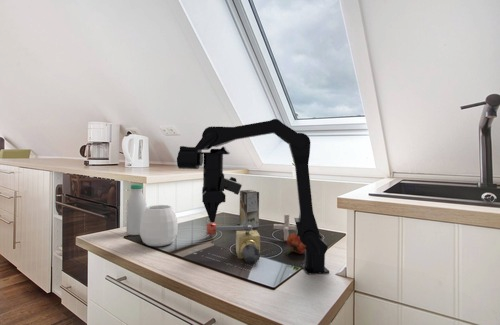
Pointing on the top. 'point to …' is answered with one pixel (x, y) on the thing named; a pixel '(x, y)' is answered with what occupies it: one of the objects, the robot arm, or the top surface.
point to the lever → (226, 228)
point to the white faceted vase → (158, 225)
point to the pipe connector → (285, 226)
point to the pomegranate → (295, 244)
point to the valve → (248, 245)
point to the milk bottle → (135, 209)
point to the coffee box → (249, 208)
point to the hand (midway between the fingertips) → (212, 221)
